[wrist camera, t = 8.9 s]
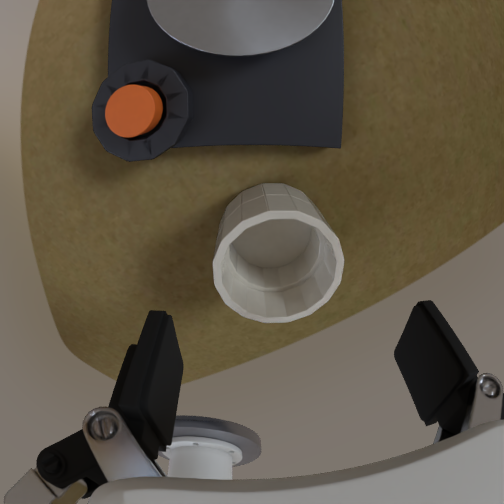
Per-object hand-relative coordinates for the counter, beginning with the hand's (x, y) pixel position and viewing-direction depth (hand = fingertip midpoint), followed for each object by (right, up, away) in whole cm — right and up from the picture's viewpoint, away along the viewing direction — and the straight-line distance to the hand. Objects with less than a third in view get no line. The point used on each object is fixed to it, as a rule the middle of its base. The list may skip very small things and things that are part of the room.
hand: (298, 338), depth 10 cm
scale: (-3, +17, +3) cm, 18 cm away
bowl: (0, +5, +10) cm, 11 cm away
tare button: (-8, +11, +3) cm, 14 cm away
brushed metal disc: (-2, +17, -1) cm, 18 cm away
